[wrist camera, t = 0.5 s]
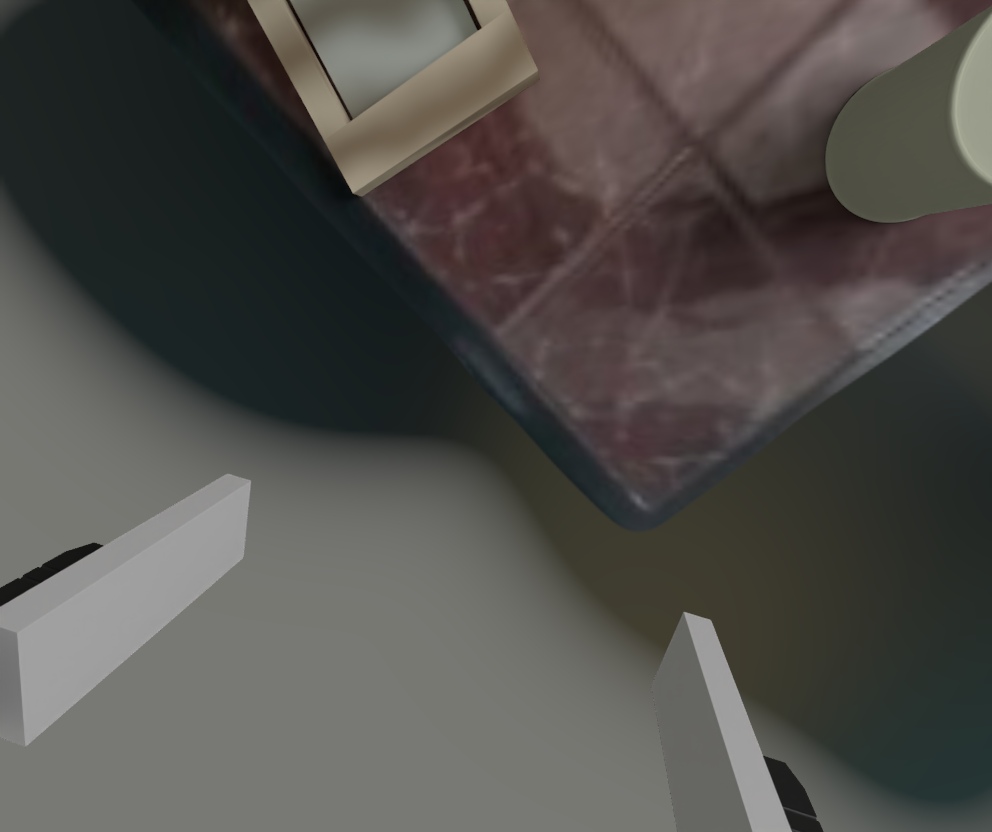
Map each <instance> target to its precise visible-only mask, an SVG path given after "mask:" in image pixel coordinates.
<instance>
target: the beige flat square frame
mask: <svg viewBox="0 0 992 832" xmlns="http://www.w3.org/2000/svg"><path fill="white" fill-rule="evenodd" d="M290 1H291V3H292V5H293V7H294V9H295V11H296V13H297V14H298V16H299V18H300V20H301V22H302V24H303V26H304V28H305V30H306V31H307V33H308V35H309V37H310V39H311V41H312V43H313V45H314V46H315V48H316V50H317V52H318V54H319V56H320V58H321V60H322V61H323V63H324V65H325V67H326V69H327V71H328V73H329V75H330V77H331V78H332V80H333V82H334V84H335V86H336V88H337V90H338V92H339V93H340V95H341V97H342V99H343V101H344V103H345V105H346V107H347V108H348V110H349V112H350V114H351V116H352V118H353V120H352V121H350V119H349V117H348V115H347V113H346V111H345V109H344V107H343V106H342V104H341V102H340V100H339V98H338V96H337V94H336V92H335V91H334V89H333V87H332V85H331V83H330V81H329V79H328V77H327V76H326V74H325V72H324V70H323V68H322V66H321V64H320V62H319V61H318V59H317V57H316V55H315V53H314V51H313V49H312V47H311V46H310V44H309V42H308V40H307V38H306V36H305V34H304V32H303V31H302V29H301V27H300V25H299V23H298V21H297V19H296V17H295V16H294V14H293V12H292V10H291V8H290V6H289V4H288V2H287V1H286V0H248V2H249V4H250V6H251V8H252V10H253V11H254V13H255V15H256V17H257V19H258V21H259V22H260V24H261V26H262V28H263V30H264V32H265V33H266V35H267V37H268V39H269V41H270V43H271V44H272V46H273V48H274V50H275V52H276V53H277V55H278V57H279V59H280V61H281V63H282V64H283V66H284V68H285V70H286V72H287V74H288V75H289V77H290V79H291V81H292V83H293V85H294V86H295V88H296V90H297V92H298V94H299V96H300V97H301V99H302V101H303V103H304V105H305V107H306V108H307V110H308V112H309V114H310V116H311V118H312V119H313V121H314V123H315V125H316V127H317V129H318V130H319V132H320V134H321V136H322V138H323V140H324V141H325V143H326V145H327V147H328V149H329V150H330V152H331V154H332V156H333V158H334V160H335V161H336V163H337V165H338V167H339V169H340V171H341V172H342V174H343V176H344V178H345V180H346V182H347V183H348V185H349V187H350V189H351V191H352V193H353V194H356V195H359V196H361V197H362V196H364V195H365V194H367V193H368V192H370V191H371V190H373V189H374V188H376V187H377V186H379V185H380V184H382V183H383V182H385V181H386V180H388V179H389V178H391V177H392V176H394V175H396V174H397V173H399V172H400V171H402V170H403V169H405V168H406V167H408V166H409V165H411V164H412V163H414V162H415V161H417V160H418V159H420V158H421V157H423V156H424V155H426V154H427V153H429V152H430V151H432V150H434V149H435V148H437V147H438V146H440V145H441V144H443V143H444V142H446V141H447V140H449V139H450V138H452V137H453V136H455V135H456V134H458V133H459V132H461V131H462V130H464V129H465V128H467V127H468V126H470V125H471V124H473V123H475V122H476V121H478V120H479V119H481V118H482V117H484V116H485V115H487V114H488V113H490V112H491V111H493V110H494V109H496V108H497V107H499V106H500V105H502V104H503V103H505V102H506V101H508V100H509V99H511V98H513V97H514V96H516V95H517V94H519V93H520V92H522V91H523V90H525V89H526V88H528V87H529V86H531V85H532V84H534V83H535V82H537V81H538V80H540V79H539V73H538V70H537V67H536V65H535V63H534V61H533V59H532V56H531V54H530V52H529V50H528V48H527V46H526V43H525V41H524V39H523V37H522V35H521V32H520V30H519V28H518V26H517V24H516V22H515V19H514V17H513V15H512V13H511V11H510V8H509V6H508V4H507V2H506V0H468V1H469V3H470V5H471V7H472V9H473V12H474V14H475V16H476V18H477V20H478V22H479V24H480V26H481V29H480V30H478V31H477V29H476V26H475V24H474V22H473V20H472V18H471V16H470V14H469V12H468V10H467V7H466V5H465V3H464V1H463V0H290Z"/></svg>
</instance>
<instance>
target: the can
mask: <svg viewBox="0 0 992 832" xmlns="http://www.w3.org/2000/svg"><path fill="white" fill-rule="evenodd" d="M825 165H826V174H827V178H828V182H829V185H830V187H831V189H832V191H833V193H834V195H835V196H836V198H837V199H838V200H839V202H840V203H841V204H842V205H843V206H844V207H845V208H846V209H848V210H849V211H850V212H852V213H853V214H855V215H857V216H859V217H862V218H864V219H867V220H870V221H875V222H882V223H894V222H903V221H908V220H912V219H915V218H918V217H921V216H924V215H927V214H933V213H939V212H945V211H951V210H957V209H963V208H969V207H974V206H980V205H986V204H992V6H991V7H989V8H988V9H986V10H985V11H983V12H982V13H980V14H978V15H977V16H975V17H974V18H972V19H971V20H969V21H968V22H966V23H965V24H963V25H962V26H960V27H958V28H957V29H955V30H954V31H952V32H951V33H949V34H948V35H946V36H945V37H943V38H942V39H940V40H938V41H937V42H935V43H934V44H932V45H931V46H929V47H928V48H926V49H925V50H923V51H921V52H920V53H918V54H917V55H915V56H913V57H912V58H910V59H909V60H907V61H905V62H904V63H902V64H901V65H899V66H897V67H895V68H892V69H890V70H888V71H886V72H884V73H882V74H880V75H878V76H877V77H875V78H873V79H872V80H871V81H869V82H868V83H866V84H865V85H864V86H863V87H862V88H861V89H859V90H858V91H857V92H856V93H855V94H854V95H853V97H852V98H851V99H850V100H849V101H848V102H847V104H846V105H845V106H844V108H843V109H842V111H841V112H840V114H839V115H838V117H837V119H836V121H835V123H834V125H833V127H832V130H831V132H830V135H829V139H828V142H827V147H826V155H825Z"/></svg>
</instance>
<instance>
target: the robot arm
mask: <svg viewBox="0 0 992 832" xmlns="http://www.w3.org/2000/svg"><path fill="white" fill-rule="evenodd" d="M250 484H251V481H250V480H247V479H243V478H240V477H237V476H234V475H230V474H226V475H224V476H222V477H221V478H219V479H218V480H216V481H214V482H212V483H211V484H209V485H207V486H206V487H204V488H202V489H200V490H199V491H197V492H195V493H193V494H192V495H190V496H188V497H187V498H185V499H183V500H182V501H180V502H178V503H176V504H175V505H173V506H172V507H170V508H168V509H166V510H165V511H163V512H161V513H159V514H158V515H156V516H154V517H153V518H151V519H149V520H147V521H146V522H144V523H142V524H141V525H139V526H137V527H136V528H134V529H132V530H130V531H129V532H127V533H125V534H124V535H122V536H120V537H119V538H117V539H115V540H113V541H112V542H110V543H108V544H107V545H105V546H103V545H100V544H97V543H91V544H88V545H85V546H82V547H79V548H75V549H72V550H69V551H66V552H64V553H62V554H61V555H59V556H57V557H55V558H54V559H52V560H50V561H48V562H46V563H44V564H43V565H42V567H41V568H39V567H37V568H35V569H33V570H32V571H30V572H28V573H26V574H24V575H23V577H22V578H21V579H19V578H17V579H15V580H14V581H12V582H10V583H8V584H6V585H5V586H3V587H1V588H0V738H2V739H5V740H8V741H11V742H14V743H16V744H19V745H22V746H27V745H28V744H29V743H30V742H31V741H33V740H34V739H35V738H36V737H37V736H38V735H39V734H41V733H42V732H43V731H44V730H45V729H46V728H48V727H49V726H50V725H51V724H52V723H53V722H54V721H55V720H57V719H58V718H59V717H60V716H61V715H62V714H64V712H66V711H67V710H68V709H69V708H71V707H72V706H73V705H74V704H75V703H76V702H77V701H79V700H80V699H81V698H82V697H83V696H84V695H85V694H87V693H88V692H89V691H90V690H91V689H92V688H94V687H95V686H96V685H97V684H98V683H99V682H101V681H102V680H103V679H104V678H105V677H106V676H107V675H108V674H110V673H111V672H112V671H113V670H114V669H116V668H117V667H118V666H119V665H120V664H121V663H122V662H124V661H125V660H126V659H127V658H128V657H129V656H131V654H133V653H134V652H135V651H136V650H137V649H139V648H140V647H141V646H142V645H143V644H144V643H146V642H147V641H148V640H149V639H150V638H151V637H152V636H154V635H155V634H156V633H157V632H158V631H159V630H160V629H162V628H163V627H164V626H165V625H166V624H167V623H168V622H170V621H171V620H172V619H173V618H174V617H176V616H177V615H178V614H179V613H180V612H181V611H182V610H184V609H185V608H186V607H187V606H188V605H189V604H190V603H191V602H193V601H194V600H195V599H196V598H197V597H199V596H200V595H201V594H202V593H203V592H204V591H205V590H207V589H208V588H209V587H210V586H211V585H212V584H214V583H215V582H216V581H217V580H218V579H219V578H220V577H222V576H223V575H224V574H225V573H226V572H227V571H229V570H230V569H231V568H232V567H233V566H234V565H235V564H237V563H238V562H239V561H240V560H241V559H242V558H243V557H244V547H245V535H246V526H247V516H248V505H249V494H250ZM651 688H652V693H653V699H654V705H655V710H656V716H657V721H658V727H659V733H660V738H661V744H662V749H663V755H664V761H665V766H666V771H667V778H668V783H669V789H670V794H671V799H672V805H673V811H674V817H675V822H676V827H677V832H823V830H822V827H821V825H820V823H819V822H818V821H817V820H816V814H815V811H814V809H813V807H812V805H811V802H810V800H809V798H808V796H807V793H806V791H805V789H804V787H803V786H802V785H801V784H800V782H799V781H798V780H797V778H796V777H795V776H794V774H793V773H792V771H791V770H790V769H789V767H788V766H787V765H786V763H784V762H781V761H778V760H775V759H772V758H768V757H765V756H763V755H762V753H761V750H760V747H759V745H758V742H757V739H756V737H755V735H754V732H753V729H752V726H751V724H750V721H749V719H748V716H747V713H746V711H745V708H744V705H743V703H742V700H741V698H740V695H739V692H738V690H737V687H736V685H735V682H734V679H733V677H732V674H731V672H730V669H729V666H728V664H727V661H726V658H725V656H724V653H723V651H722V648H721V645H720V643H719V640H718V638H717V635H716V633H715V630H714V628H713V624H712V622H711V620H709V619H706V618H702V617H699V616H695V615H692V614H689V613H686V612H684V613H683V615H682V617H681V619H680V621H679V624H678V626H677V629H676V631H675V633H674V635H673V638H672V640H671V642H670V645H669V647H668V649H667V651H666V654H665V656H664V658H663V660H662V663H661V665H660V667H659V670H658V672H657V674H656V676H655V679H654V681H653V683H652V686H651Z"/></svg>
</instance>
